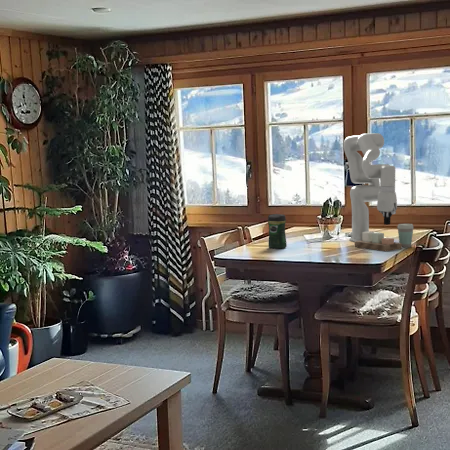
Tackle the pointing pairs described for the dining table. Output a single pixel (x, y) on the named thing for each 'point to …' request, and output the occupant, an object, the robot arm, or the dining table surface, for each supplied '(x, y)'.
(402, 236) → the coffee cup
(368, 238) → the pale grey block
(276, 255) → the dining table surface
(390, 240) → the key terracotta
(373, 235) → the key sage
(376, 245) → the brown tray
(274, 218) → the coffee jar
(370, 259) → the dining table surface
